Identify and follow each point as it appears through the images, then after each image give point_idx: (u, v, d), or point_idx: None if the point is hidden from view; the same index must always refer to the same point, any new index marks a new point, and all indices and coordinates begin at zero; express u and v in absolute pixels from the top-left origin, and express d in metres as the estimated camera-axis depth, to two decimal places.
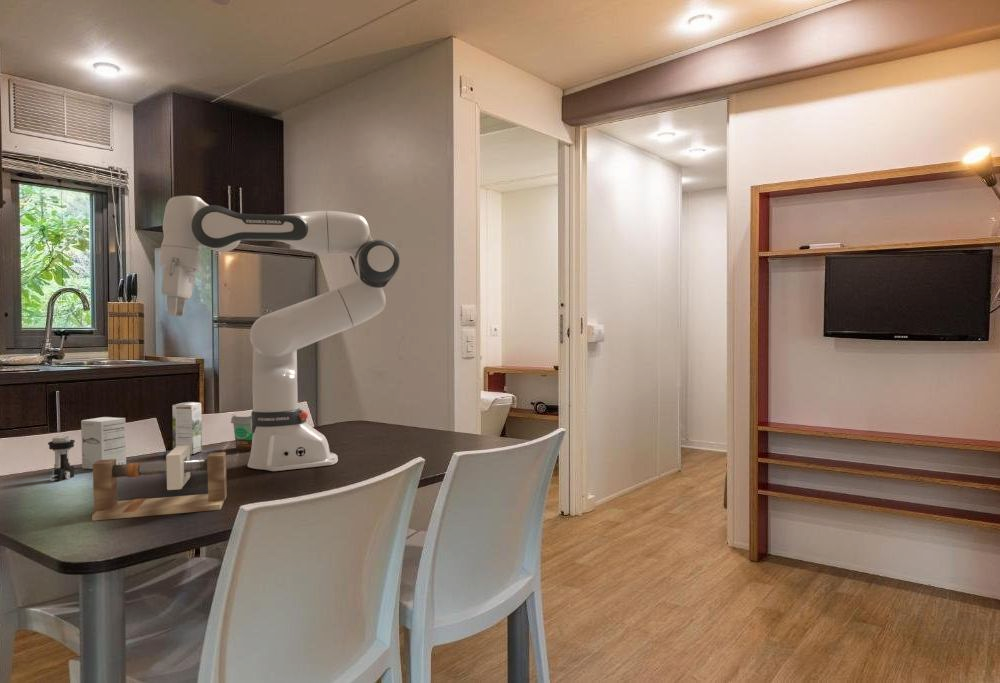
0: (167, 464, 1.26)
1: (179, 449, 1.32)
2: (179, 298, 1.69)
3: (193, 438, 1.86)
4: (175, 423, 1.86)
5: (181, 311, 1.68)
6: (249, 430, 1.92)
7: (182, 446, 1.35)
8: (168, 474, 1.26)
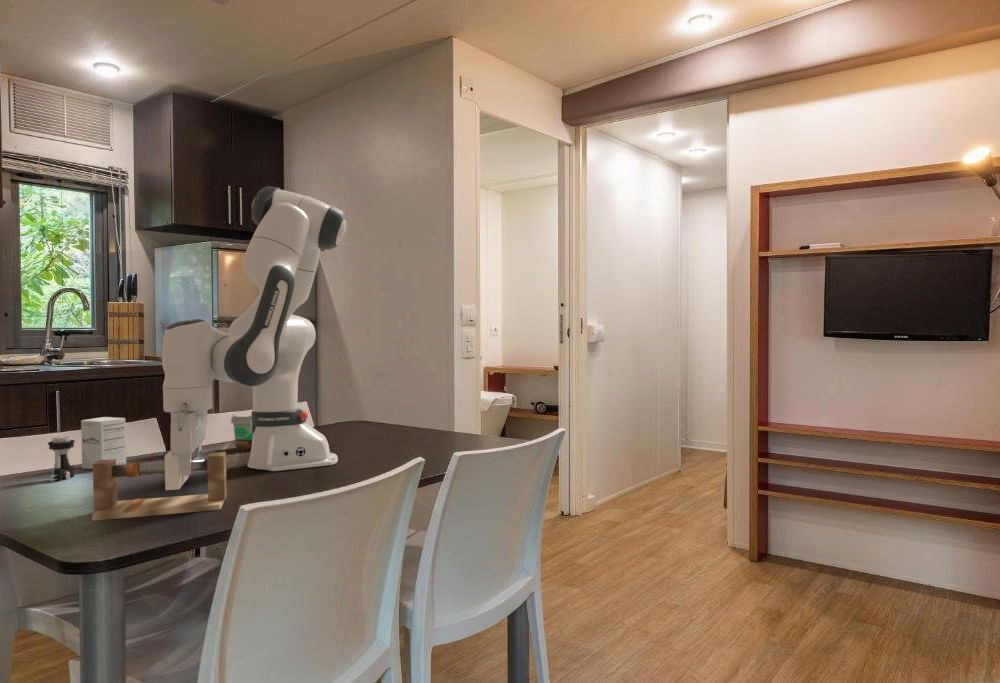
0: (165, 464, 1.26)
1: None
2: None
3: None
4: None
5: None
6: (249, 430, 1.92)
7: None
8: (166, 474, 1.26)
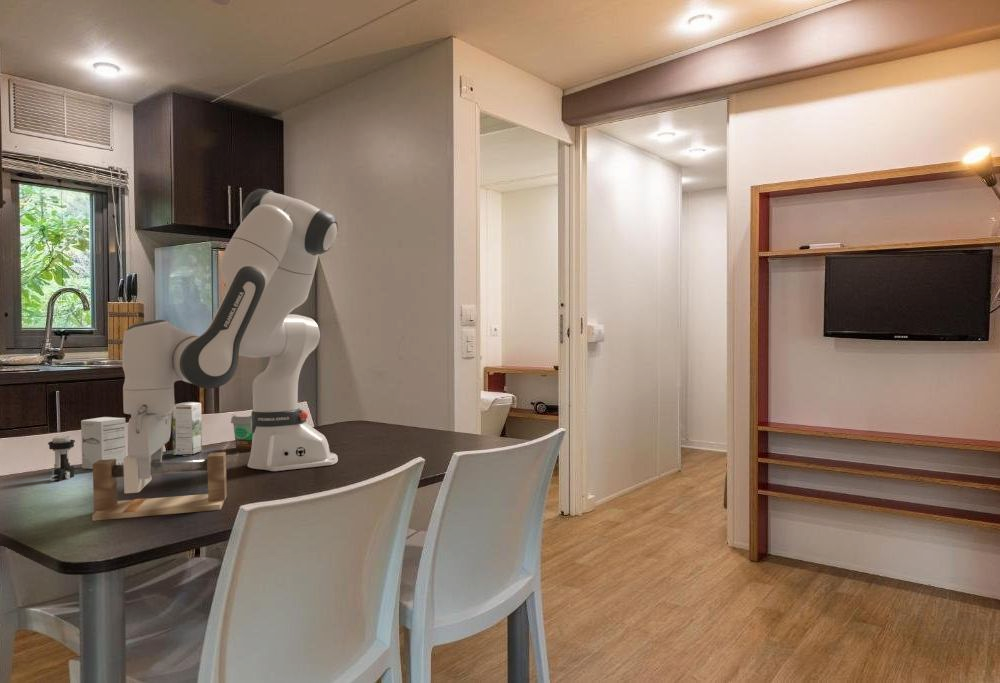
0: (124, 467, 1.24)
1: None
2: None
3: (193, 438, 1.86)
4: (175, 423, 1.86)
5: None
6: (249, 430, 1.92)
7: None
8: (125, 477, 1.24)
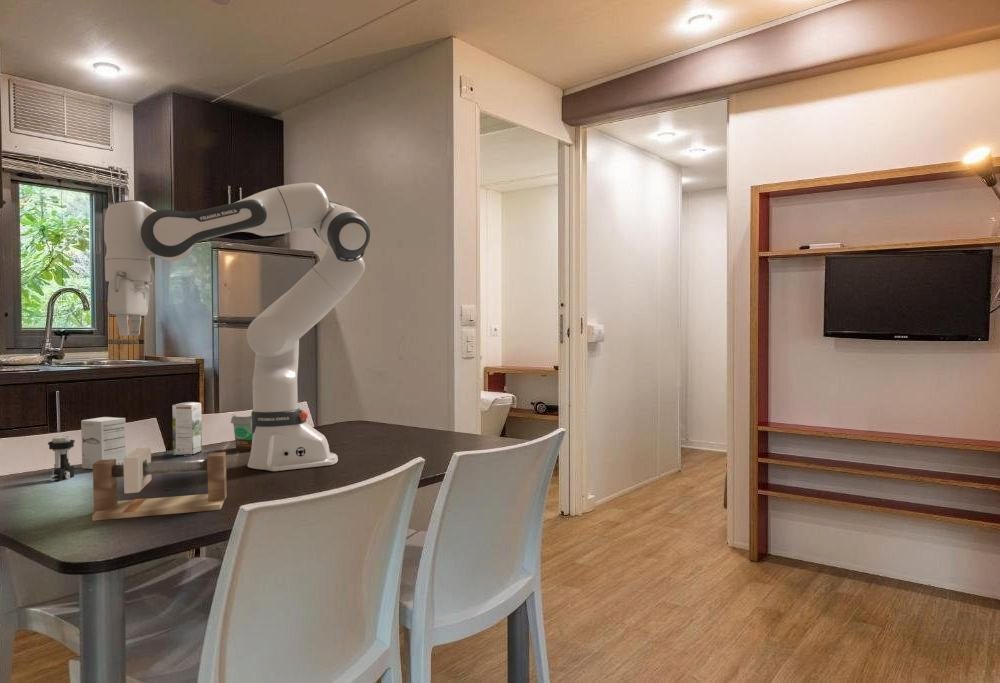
0: (124, 467, 1.24)
1: (138, 451, 1.30)
2: (133, 316, 1.53)
3: (193, 438, 1.86)
4: (175, 423, 1.86)
5: (137, 330, 1.52)
6: (249, 430, 1.92)
7: (143, 448, 1.33)
8: (125, 477, 1.24)
